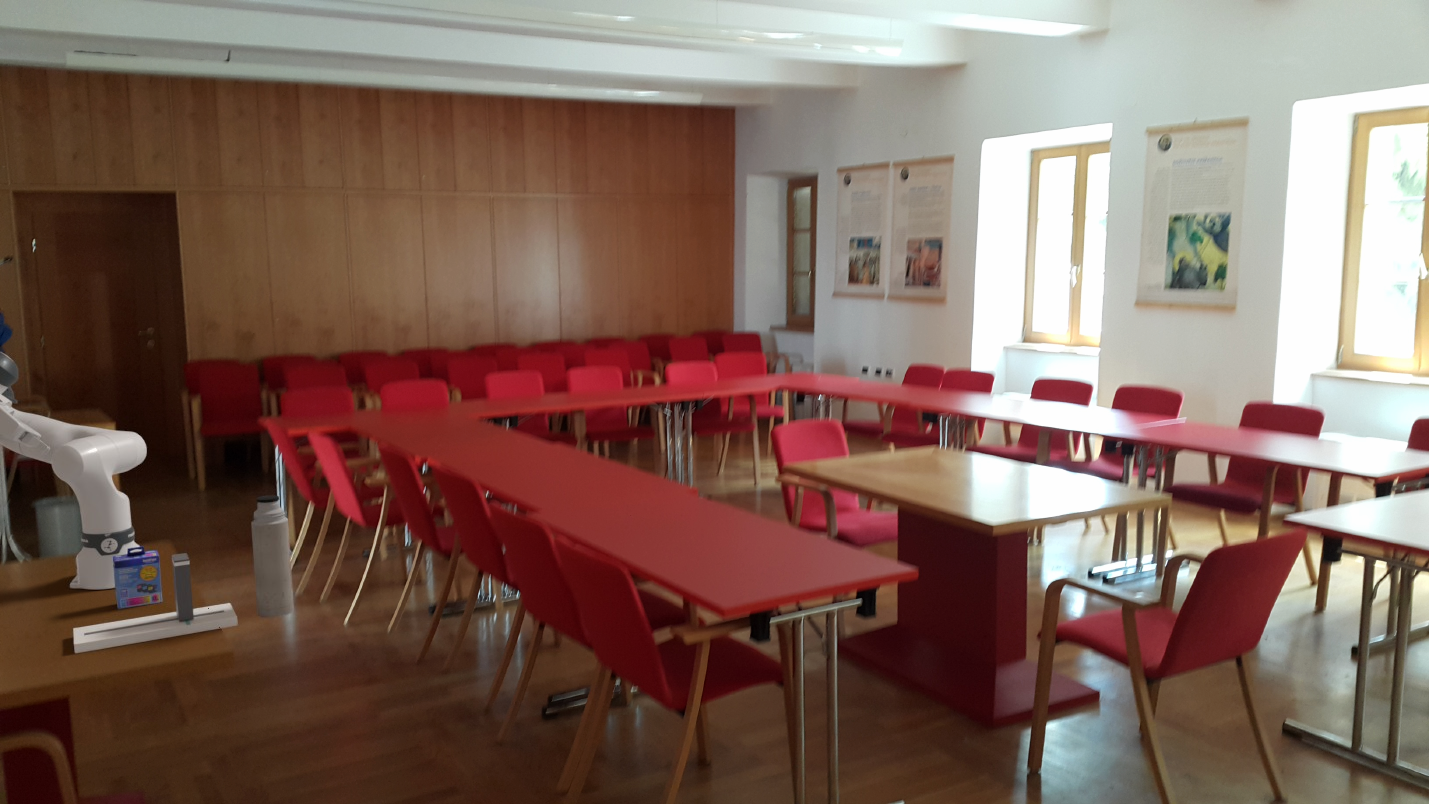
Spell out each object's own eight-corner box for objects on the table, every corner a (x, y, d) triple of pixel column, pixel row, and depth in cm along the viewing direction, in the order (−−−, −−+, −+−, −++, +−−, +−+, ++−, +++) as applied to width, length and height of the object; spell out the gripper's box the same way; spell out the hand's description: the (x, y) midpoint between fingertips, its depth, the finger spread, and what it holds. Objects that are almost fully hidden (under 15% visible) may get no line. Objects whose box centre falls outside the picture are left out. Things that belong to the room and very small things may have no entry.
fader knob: (176, 614, 243) (171, 554, 241) (191, 611, 245) (186, 552, 243) (178, 621, 238) (173, 561, 236) (194, 618, 240) (189, 558, 238)
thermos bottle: (291, 604, 256) (283, 491, 252) (296, 614, 249) (288, 497, 246) (255, 610, 252) (247, 495, 249) (259, 620, 245) (251, 502, 242)
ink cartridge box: (117, 610, 254) (112, 551, 252) (115, 604, 258) (110, 546, 256) (163, 602, 259) (158, 545, 257) (161, 596, 264) (156, 540, 262)
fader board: (74, 637, 235) (73, 627, 235) (230, 611, 252) (229, 602, 252) (74, 653, 225) (73, 643, 225) (237, 625, 242) (237, 616, 242)
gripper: (-10, 428, 239) (45, 465, 242) (-34, 418, 220) (26, 458, 224) (11, 407, 241) (65, 443, 244) (-11, 395, 222) (48, 434, 226)
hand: (47, 450), depth 234 cm, fingers closed
